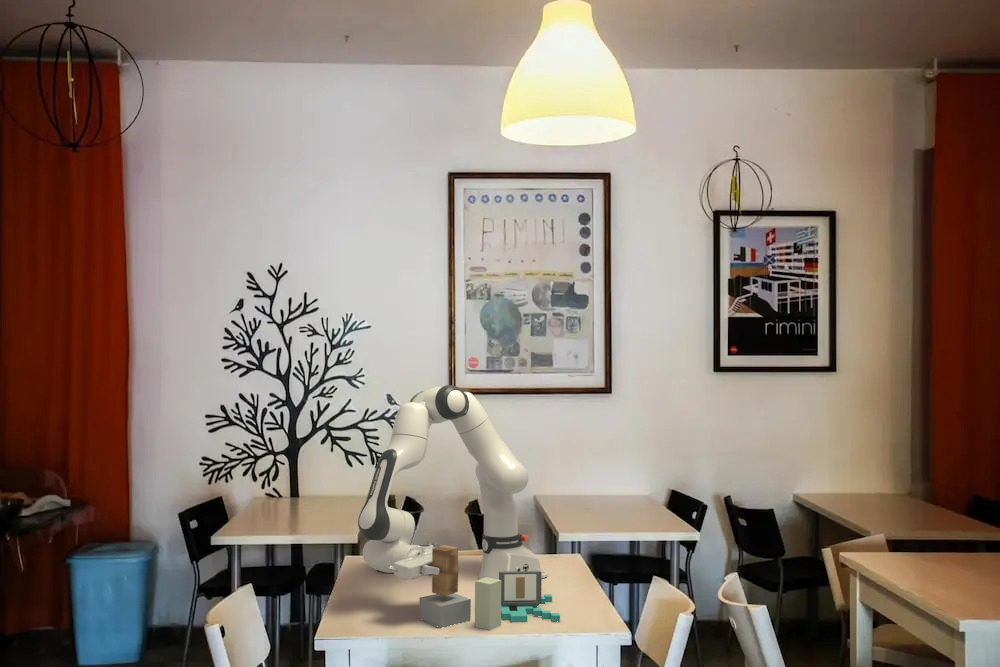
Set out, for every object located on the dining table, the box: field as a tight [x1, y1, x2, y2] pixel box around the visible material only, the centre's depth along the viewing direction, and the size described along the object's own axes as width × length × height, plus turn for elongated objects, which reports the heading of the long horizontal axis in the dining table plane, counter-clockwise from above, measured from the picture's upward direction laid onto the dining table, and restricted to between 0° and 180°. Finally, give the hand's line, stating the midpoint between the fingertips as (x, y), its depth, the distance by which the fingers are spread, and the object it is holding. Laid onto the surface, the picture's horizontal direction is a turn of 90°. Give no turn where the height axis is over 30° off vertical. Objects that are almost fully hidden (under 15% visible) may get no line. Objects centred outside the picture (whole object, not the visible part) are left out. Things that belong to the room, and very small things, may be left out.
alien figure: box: [501, 594, 561, 623], centre depth 235 cm, size 20×2×20 cm
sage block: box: [474, 577, 502, 631], centre depth 222 cm, size 5×5×12 cm
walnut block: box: [431, 544, 459, 596], centre depth 227 cm, size 5×5×12 cm
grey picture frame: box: [499, 571, 543, 606], centre depth 236 cm, size 12×5×9 cm, turn 94°
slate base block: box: [418, 593, 472, 629], centre depth 227 cm, size 10×10×6 cm
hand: (447, 568), depth 227 cm, fingers closed on walnut block, 5 cm apart
